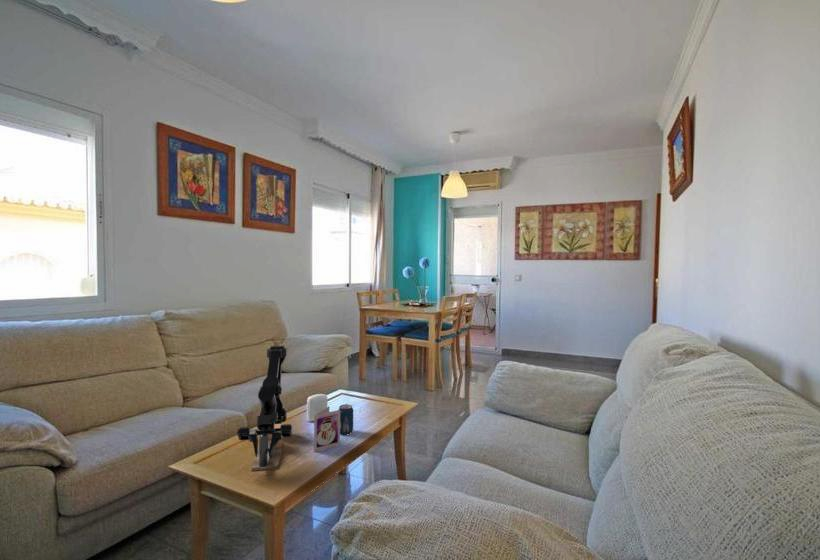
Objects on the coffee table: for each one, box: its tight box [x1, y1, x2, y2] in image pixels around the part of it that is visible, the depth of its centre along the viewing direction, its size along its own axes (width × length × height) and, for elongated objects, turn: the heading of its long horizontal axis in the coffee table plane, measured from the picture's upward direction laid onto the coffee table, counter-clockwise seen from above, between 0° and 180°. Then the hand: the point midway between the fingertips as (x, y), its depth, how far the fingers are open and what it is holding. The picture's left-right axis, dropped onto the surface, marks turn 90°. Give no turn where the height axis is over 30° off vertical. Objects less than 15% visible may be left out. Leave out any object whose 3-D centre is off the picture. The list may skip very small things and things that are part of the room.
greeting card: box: [313, 406, 341, 453], centre depth 159 cm, size 11×7×15 cm, turn 126°
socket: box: [268, 423, 283, 448], centre depth 156 cm, size 4×8×8 cm, turn 102°
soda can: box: [338, 403, 354, 436], centre depth 172 cm, size 7×7×12 cm
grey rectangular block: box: [268, 439, 276, 459], centre depth 149 cm, size 8×4×4 cm, turn 12°
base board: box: [251, 441, 284, 471], centre depth 149 cm, size 20×9×1 cm, turn 12°
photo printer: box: [306, 393, 329, 422], centre depth 187 cm, size 10×4×12 cm, turn 125°
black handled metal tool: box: [258, 434, 270, 468], centre depth 142 cm, size 16×3×12 cm, turn 12°
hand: (262, 456), depth 134 cm, fingers open, 4 cm apart
